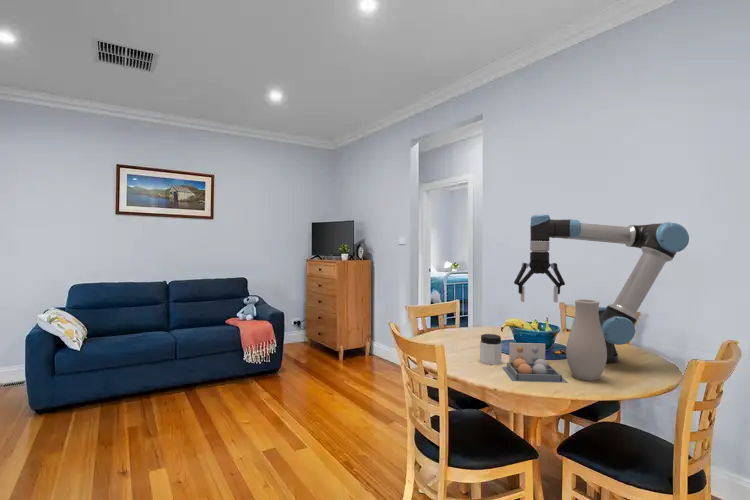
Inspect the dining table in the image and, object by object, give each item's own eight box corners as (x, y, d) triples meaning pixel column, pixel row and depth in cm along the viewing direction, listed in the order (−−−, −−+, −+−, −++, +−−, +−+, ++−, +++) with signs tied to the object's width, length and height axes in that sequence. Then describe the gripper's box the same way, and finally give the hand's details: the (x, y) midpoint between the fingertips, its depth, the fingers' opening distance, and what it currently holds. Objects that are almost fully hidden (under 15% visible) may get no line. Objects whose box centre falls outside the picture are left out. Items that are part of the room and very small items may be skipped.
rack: (552, 370, 168) (552, 343, 167) (568, 385, 151) (568, 355, 150) (501, 369, 169) (501, 342, 169) (512, 383, 152) (512, 353, 152)
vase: (575, 385, 150) (576, 303, 150) (560, 373, 164) (561, 298, 164) (613, 386, 150) (615, 303, 149) (595, 374, 164) (596, 298, 163)
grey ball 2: (546, 367, 159) (535, 360, 159) (551, 370, 154) (539, 362, 154) (539, 378, 159) (528, 371, 159) (543, 381, 154) (532, 374, 154)
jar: (491, 368, 170) (491, 339, 170) (476, 363, 177) (476, 335, 177) (505, 364, 175) (505, 336, 175) (490, 360, 182) (490, 333, 182)
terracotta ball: (524, 369, 166) (524, 356, 166) (528, 373, 161) (528, 360, 161) (511, 369, 166) (512, 356, 166) (515, 373, 161) (515, 360, 161)
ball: (529, 375, 159) (529, 362, 159) (533, 379, 154) (533, 365, 154) (516, 375, 159) (516, 362, 159) (520, 379, 154) (519, 365, 154)
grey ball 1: (545, 369, 165) (545, 357, 165) (549, 374, 160) (549, 361, 160) (532, 369, 166) (532, 357, 166) (536, 373, 161) (536, 360, 161)
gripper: (566, 251, 178) (566, 300, 178) (507, 251, 179) (506, 300, 180) (573, 251, 170) (573, 303, 171) (511, 251, 172) (511, 302, 172)
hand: (538, 301), depth 175 cm, fingers open, 13 cm apart
